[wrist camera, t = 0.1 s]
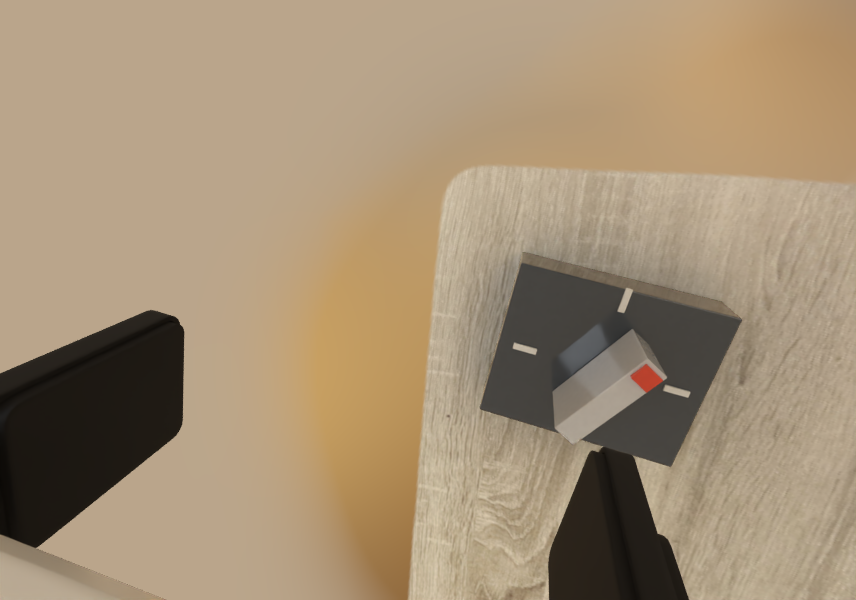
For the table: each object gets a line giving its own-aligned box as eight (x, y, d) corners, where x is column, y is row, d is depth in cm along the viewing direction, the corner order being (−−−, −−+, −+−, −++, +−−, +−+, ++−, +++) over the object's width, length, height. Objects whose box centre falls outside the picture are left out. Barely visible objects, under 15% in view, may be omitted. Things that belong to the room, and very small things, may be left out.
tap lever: (568, 406, 28) (573, 448, 25) (552, 391, 28) (554, 430, 24) (649, 345, 26) (669, 380, 22) (632, 328, 26) (648, 360, 22)
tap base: (483, 388, 33) (478, 412, 30) (523, 249, 29) (521, 261, 26) (658, 440, 31) (671, 470, 28) (723, 300, 27) (745, 318, 25)
